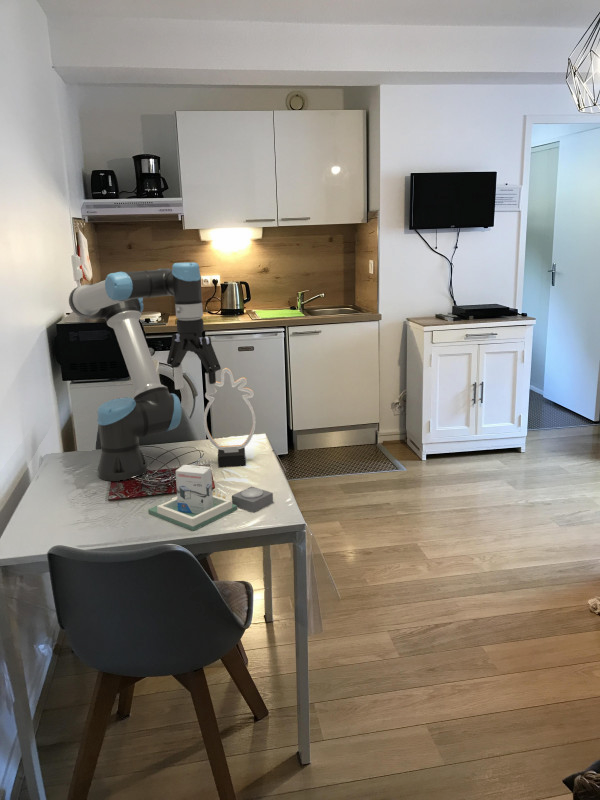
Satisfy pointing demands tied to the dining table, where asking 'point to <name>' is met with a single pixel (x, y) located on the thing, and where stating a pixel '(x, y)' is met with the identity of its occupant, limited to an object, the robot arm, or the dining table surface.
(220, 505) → the board
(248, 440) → the lamp
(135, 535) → the dining table surface
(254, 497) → the push button
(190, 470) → the ink box
